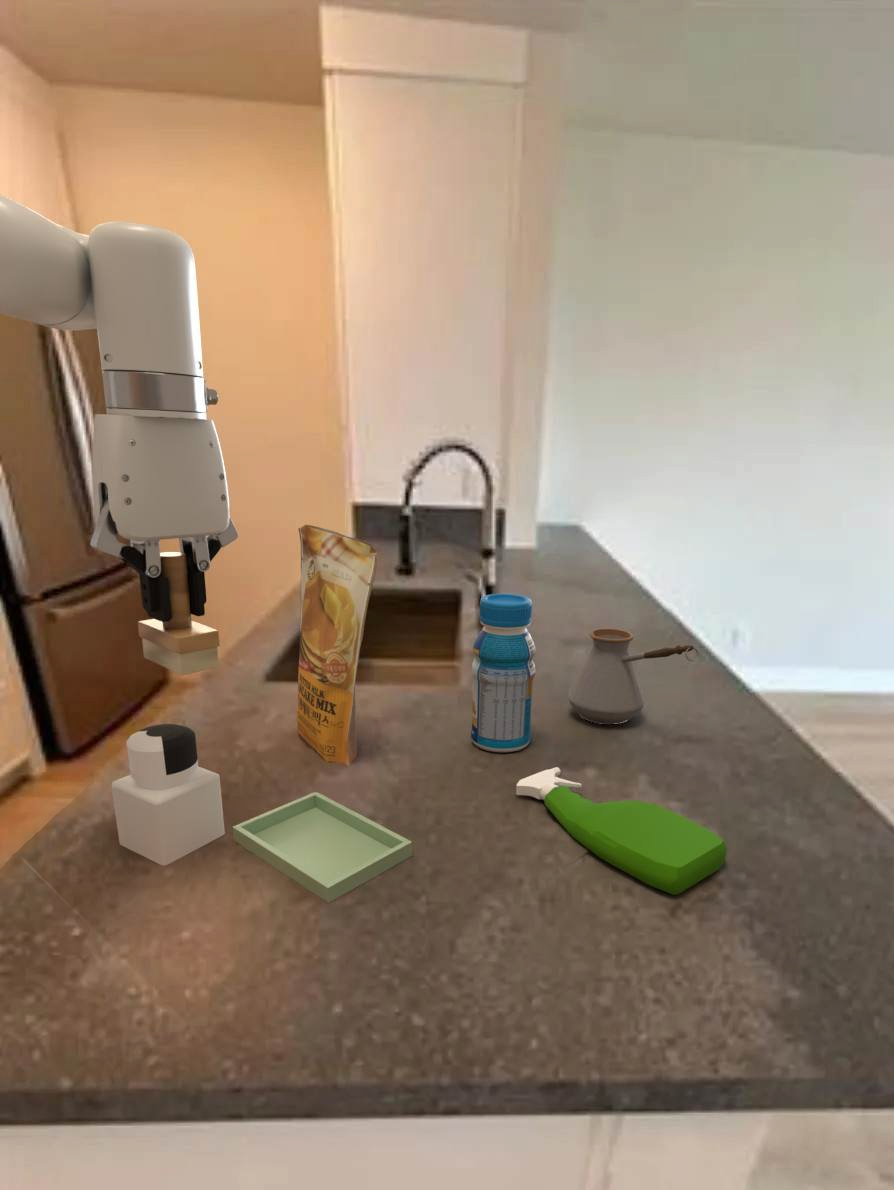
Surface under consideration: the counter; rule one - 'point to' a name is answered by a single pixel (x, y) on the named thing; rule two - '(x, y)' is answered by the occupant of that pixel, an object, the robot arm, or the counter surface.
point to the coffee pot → (612, 678)
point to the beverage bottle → (503, 674)
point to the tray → (322, 845)
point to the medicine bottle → (166, 796)
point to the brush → (179, 627)
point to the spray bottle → (632, 834)
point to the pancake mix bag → (331, 638)
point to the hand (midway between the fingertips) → (176, 614)
